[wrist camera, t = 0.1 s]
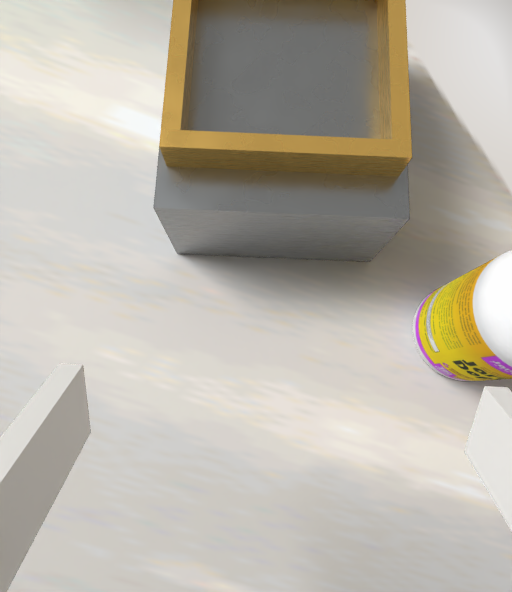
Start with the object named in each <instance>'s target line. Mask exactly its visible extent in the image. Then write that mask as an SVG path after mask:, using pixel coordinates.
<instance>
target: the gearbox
mask: <svg viewBox="0 0 512 592" xmlns="http://www.w3.org/2000/svg"><path fill="white" fill-rule="evenodd" d="M406 28H407V27H406V4H405V0H173V10H172V21H171V31H170V41H169V52H168V62H167V72H166V83H165V93H164V103H163V114H162V124H161V135H160V145H159V156H158V166H157V177H156V187H155V197H154V210H155V212H156V214H157V216H158V217H159V219H160V221H161V223H162V225H163V227H164V229H165V231H166V233H167V235H168V237H169V239H170V241H171V243H172V245H173V247H174V249H175V250H176V252H177V254H199V255H223V256H247V257H271V258H294V259H318V260H342V261H366V262H370V261H371V260H372V259H373V258H374V257H375V256H376V255H377V254H378V253H379V251H380V250H381V249H382V248H383V247H384V246H385V245H386V244H387V243H388V242H389V241H390V240H391V238H392V237H393V236H394V235H395V234H396V233H397V232H398V231H399V230H400V229H401V228H402V226H403V225H404V224H405V223H406V222H407V221H408V220H409V219H410V215H409V190H408V165H407V164H408V163H409V161H410V160H411V158H412V144H411V120H410V97H409V74H408V50H407V29H406Z"/></svg>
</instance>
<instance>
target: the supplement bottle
mask: <svg viewBox="0 0 512 592" xmlns="http://www.w3.org/2000/svg"><path fill="white" fill-rule="evenodd" d="M412 330H413V338H414V342H415V346H416V348H417V350H418V352H419V354H420V356H421V357H422V359H423V360H424V361H425V362H426V363H427V364H428V366H430V367H431V368H432V369H433V370H434V371H436V372H437V373H439V374H441V375H443V376H445V377H447V378H451V379H454V380H460V381H481V380H500V379H512V250H510V251H507V252H505V253H503V254H501V255H499V256H498V257H496V258H494V259H492V260H490V261H489V262H487V263H485V264H483V265H481V266H479V267H478V268H476V269H474V270H472V271H470V272H468V273H466V274H464V275H462V276H461V277H459V278H457V279H455V280H453V281H451V282H449V283H447V284H445V285H444V286H442V287H440V288H438V289H436V290H435V291H433V292H432V293H430V294H429V295H428V296H426V297H425V298H424V300H423V301H422V302H421V303H420V305H419V306H418V308H417V310H416V312H415V315H414V319H413V325H412Z"/></svg>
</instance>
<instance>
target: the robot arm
mask: <svg viewBox="0 0 512 592" xmlns="http://www.w3.org/2000/svg"><path fill="white" fill-rule="evenodd" d="M90 433H91V429H90V420H89V411H88V403H87V394H86V385H85V377H84V368H83V364H68V363H59V364H58V365H57V367H56V368H55V369H54V370H53V372H52V373H51V374H50V375H49V377H48V378H47V379H46V380H45V382H44V383H43V384H42V385H41V387H40V388H39V389H38V391H37V392H36V393H35V394H34V396H33V397H32V398H31V399H30V401H29V402H28V403H27V404H26V406H25V407H24V408H23V409H22V411H21V412H20V413H19V414H18V416H17V417H16V418H15V419H14V421H13V422H12V423H11V424H10V426H9V427H8V428H7V430H6V431H5V432H4V433H3V435H2V436H1V437H0V592H7V590H8V588H9V586H10V584H11V582H12V581H13V579H14V577H15V575H16V573H17V571H18V569H19V567H20V565H21V563H22V562H23V560H24V558H25V556H26V554H27V552H28V550H29V548H30V546H31V545H32V543H33V541H34V539H35V537H36V535H37V533H38V531H39V529H40V527H41V526H42V524H43V522H44V520H45V518H46V516H47V514H48V512H49V510H50V509H51V507H52V505H53V503H54V501H55V499H56V497H57V495H58V493H59V491H60V490H61V488H62V486H63V484H64V482H65V480H66V478H67V476H68V474H69V472H70V471H71V469H72V467H73V465H74V463H75V461H76V459H77V457H78V455H79V454H80V452H81V450H82V448H83V446H84V444H85V442H86V440H87V438H88V436H89V435H90ZM464 452H465V454H466V456H467V457H468V459H469V461H470V462H471V464H472V466H473V467H474V469H475V471H476V472H477V474H478V476H479V477H480V479H481V481H482V483H483V484H484V486H485V488H486V489H487V491H488V493H489V494H490V496H491V498H492V499H493V501H494V503H495V504H496V506H497V508H498V510H499V511H500V513H501V515H502V516H503V518H504V520H505V521H506V523H507V525H508V526H509V528H510V530H511V531H512V392H511V390H510V389H509V388H508V387H493V386H484V389H483V393H482V396H481V399H480V402H479V405H478V408H477V412H476V415H475V418H474V421H473V424H472V428H471V431H470V434H469V437H468V440H467V444H466V447H465V450H464Z"/></svg>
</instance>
